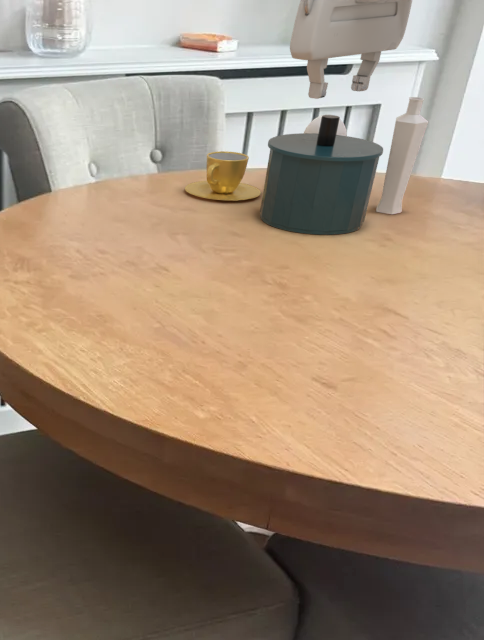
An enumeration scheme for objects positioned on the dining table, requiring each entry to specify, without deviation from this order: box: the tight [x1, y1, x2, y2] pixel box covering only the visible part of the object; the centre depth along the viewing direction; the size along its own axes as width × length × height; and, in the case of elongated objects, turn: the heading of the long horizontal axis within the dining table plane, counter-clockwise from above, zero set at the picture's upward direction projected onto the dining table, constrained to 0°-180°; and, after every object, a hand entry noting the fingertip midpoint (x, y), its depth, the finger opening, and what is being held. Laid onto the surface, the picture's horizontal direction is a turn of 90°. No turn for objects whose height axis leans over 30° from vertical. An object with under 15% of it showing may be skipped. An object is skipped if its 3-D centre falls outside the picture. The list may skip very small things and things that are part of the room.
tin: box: [259, 148, 380, 236], centre depth 125 cm, size 15×15×10 cm
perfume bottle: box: [375, 96, 429, 215], centre depth 128 cm, size 5×4×15 cm
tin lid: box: [267, 114, 384, 161], centre depth 121 cm, size 16×16×5 cm
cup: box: [184, 150, 262, 201], centre depth 137 cm, size 12×12×5 cm
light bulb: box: [303, 114, 348, 136], centre depth 137 cm, size 7×7×11 cm
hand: (338, 94), depth 117 cm, fingers open, 8 cm apart
